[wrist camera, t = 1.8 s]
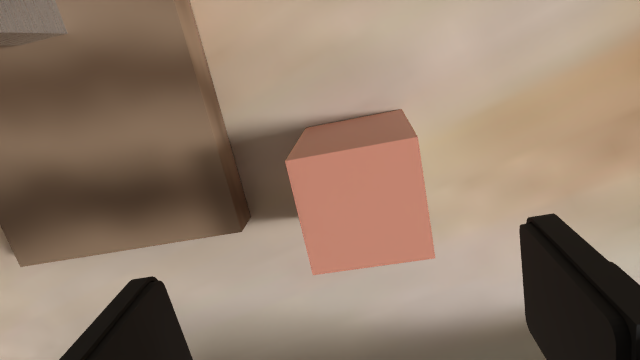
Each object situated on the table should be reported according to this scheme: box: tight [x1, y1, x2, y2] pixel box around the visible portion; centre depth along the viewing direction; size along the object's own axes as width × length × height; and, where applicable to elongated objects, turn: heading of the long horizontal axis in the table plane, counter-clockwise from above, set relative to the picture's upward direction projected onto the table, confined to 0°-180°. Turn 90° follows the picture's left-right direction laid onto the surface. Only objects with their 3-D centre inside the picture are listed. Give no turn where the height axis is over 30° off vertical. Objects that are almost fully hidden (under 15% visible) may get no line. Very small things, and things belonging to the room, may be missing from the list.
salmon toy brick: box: [285, 109, 435, 275], centre depth 20 cm, size 5×5×7 cm
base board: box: [0, 0, 251, 267], centre depth 22 cm, size 18×14×2 cm
